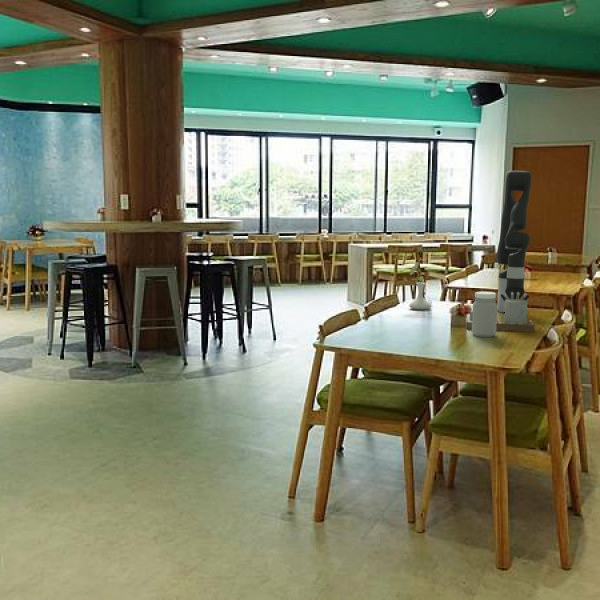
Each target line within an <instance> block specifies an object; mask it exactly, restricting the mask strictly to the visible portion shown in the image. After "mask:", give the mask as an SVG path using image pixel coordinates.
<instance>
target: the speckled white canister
mask: <svg viewBox="0 0 600 600" xmlns="http://www.w3.org/2000/svg"><path fill="white" fill-rule="evenodd" d="M527 318H528V299H527V300H522V298H520V299H506V300H505V313H504V318H503V319H504V320H503V321H504V322H503V323H507V324H511V323H516V324H518V323H523V324H527V321H528V320H527Z"/></svg>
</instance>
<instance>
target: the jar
mask: <svg viewBox="0 0 600 600" xmlns="http://www.w3.org/2000/svg"><path fill="white" fill-rule="evenodd" d="M474 297H475V298H474V300H475V301H474V302H473V303H472V310H473V318H472V320H471V322H472V329H471V333H472V334H473V335H474V336H475V337H479V338H492V336H493V337H494V336H495V335H496V334H497V330H496V324H497V319H498V311H497V305H498V303H497V302H496V301H497V299H496V297H497V293H496V292H494V291H477V292H474Z"/></svg>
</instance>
